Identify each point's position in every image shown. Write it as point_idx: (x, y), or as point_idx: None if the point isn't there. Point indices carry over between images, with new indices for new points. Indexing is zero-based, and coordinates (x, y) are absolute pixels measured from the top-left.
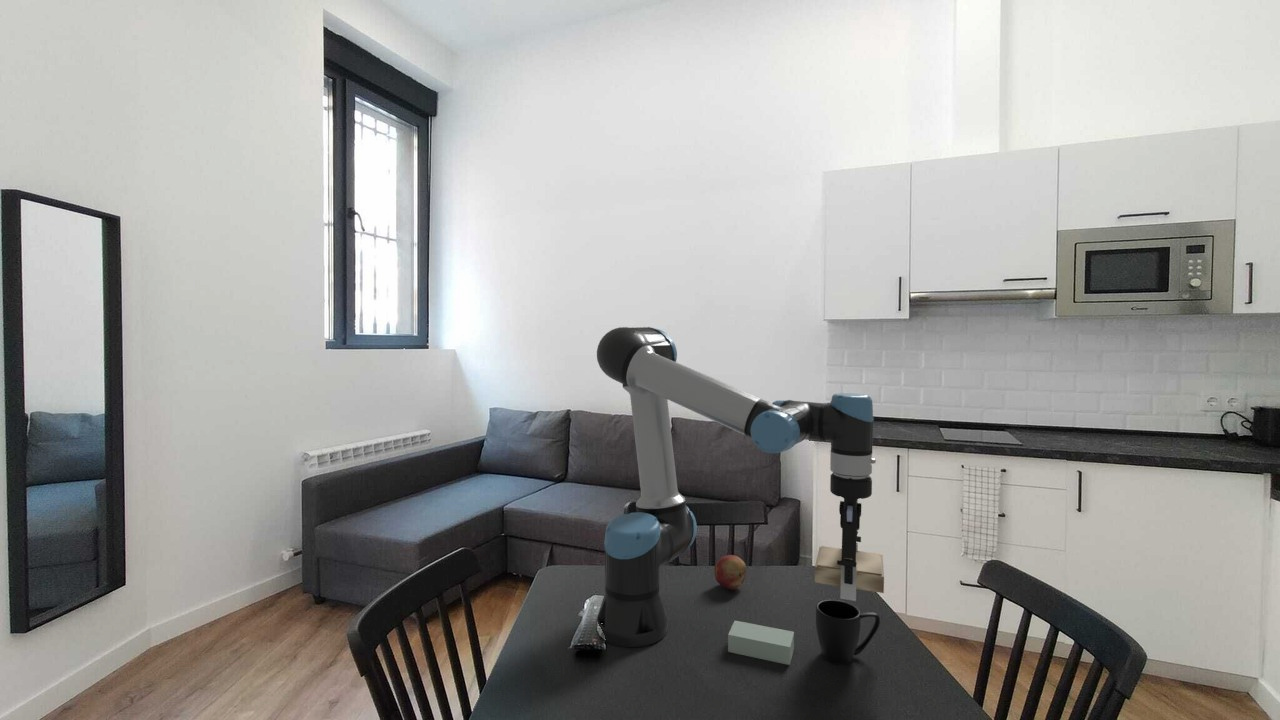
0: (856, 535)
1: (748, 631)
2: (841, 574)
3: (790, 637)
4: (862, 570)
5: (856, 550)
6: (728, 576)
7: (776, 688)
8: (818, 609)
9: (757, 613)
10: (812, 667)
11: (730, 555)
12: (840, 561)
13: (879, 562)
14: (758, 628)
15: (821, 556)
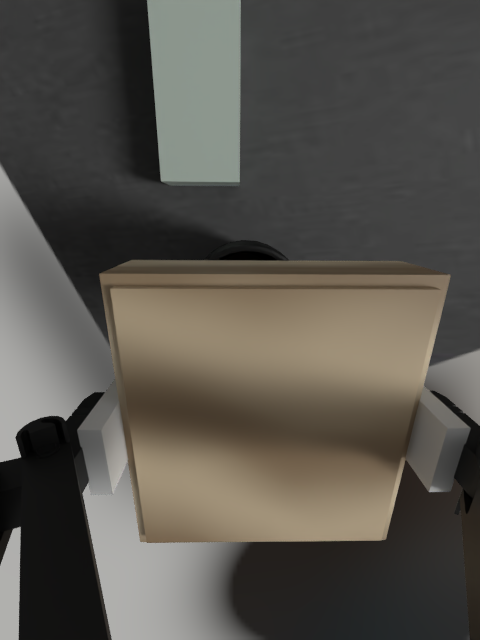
0: (464, 541)
1: (190, 41)
2: (103, 397)
3: (207, 176)
4: (149, 485)
5: (409, 458)
6: None
7: (73, 167)
8: (223, 253)
9: (391, 55)
10: (183, 233)
11: None
12: (20, 450)
13: (274, 537)
14: (220, 72)
15: (254, 302)
